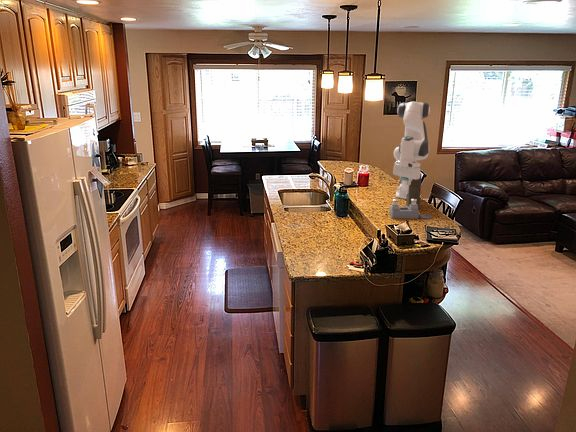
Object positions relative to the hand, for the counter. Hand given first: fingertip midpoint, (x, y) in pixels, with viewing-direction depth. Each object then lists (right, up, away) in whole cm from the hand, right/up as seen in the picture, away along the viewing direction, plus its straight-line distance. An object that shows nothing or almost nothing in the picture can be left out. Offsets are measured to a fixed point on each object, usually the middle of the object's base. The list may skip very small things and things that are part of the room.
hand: (405, 183), depth 295 cm
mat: (+13, -21, +3) cm, 25 cm away
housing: (0, -21, +6) cm, 22 cm away
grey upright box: (+12, -14, +28) cm, 34 cm away
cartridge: (0, -6, +2) cm, 6 cm away
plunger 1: (-6, -16, +5) cm, 17 cm away
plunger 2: (+6, -15, +4) cm, 17 cm away
